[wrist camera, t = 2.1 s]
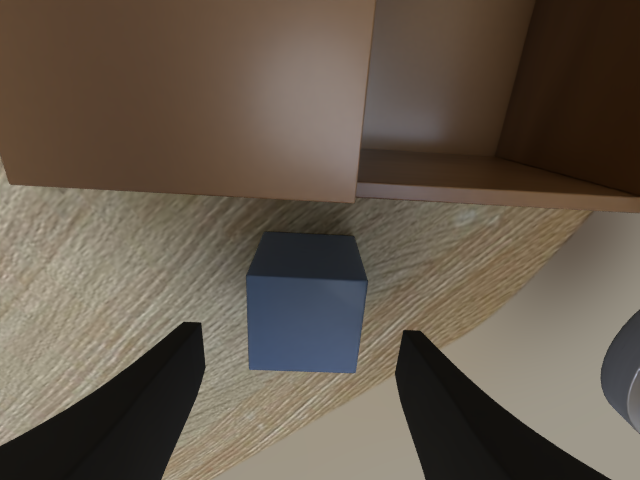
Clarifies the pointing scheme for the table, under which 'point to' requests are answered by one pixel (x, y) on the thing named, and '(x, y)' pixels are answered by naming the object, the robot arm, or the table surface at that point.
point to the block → (305, 303)
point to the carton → (327, 99)
